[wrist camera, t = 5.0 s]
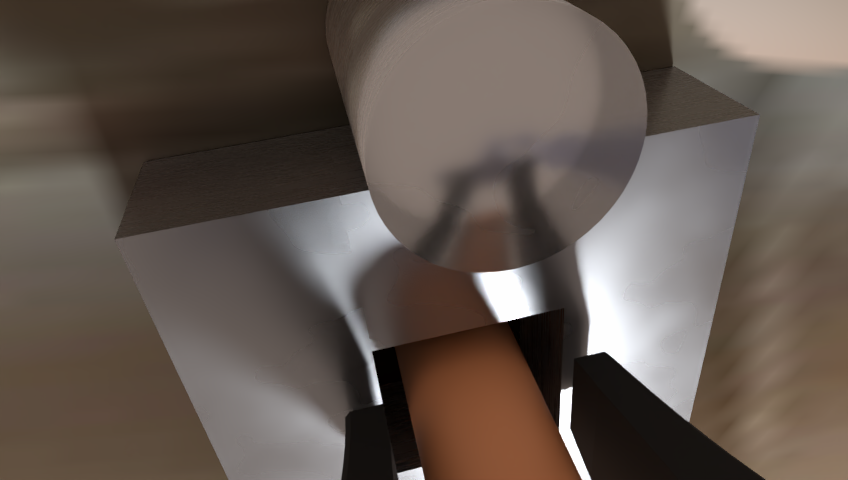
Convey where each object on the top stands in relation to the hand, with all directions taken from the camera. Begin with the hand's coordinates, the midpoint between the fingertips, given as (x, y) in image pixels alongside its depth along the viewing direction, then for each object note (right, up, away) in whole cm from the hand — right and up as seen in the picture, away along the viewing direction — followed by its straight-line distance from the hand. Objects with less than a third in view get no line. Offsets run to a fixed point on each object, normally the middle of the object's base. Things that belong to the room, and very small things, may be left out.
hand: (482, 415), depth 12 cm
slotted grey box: (-1, +3, +2) cm, 3 cm away
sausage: (-1, +1, +3) cm, 3 cm away
